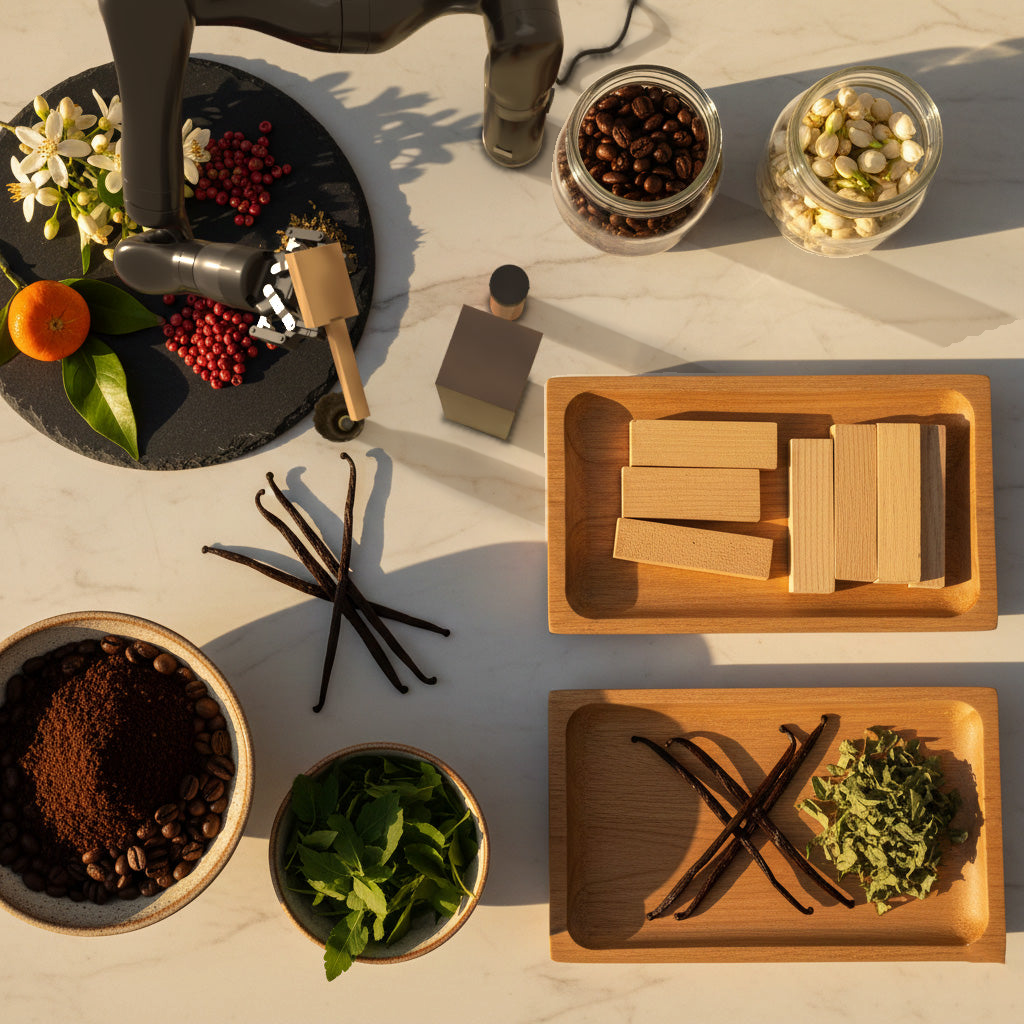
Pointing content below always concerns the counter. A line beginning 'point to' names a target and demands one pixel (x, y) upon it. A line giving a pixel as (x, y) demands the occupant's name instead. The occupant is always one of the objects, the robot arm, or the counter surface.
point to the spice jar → (506, 310)
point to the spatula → (330, 313)
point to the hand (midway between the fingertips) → (339, 298)
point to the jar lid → (509, 285)
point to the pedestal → (486, 370)
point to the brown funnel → (335, 419)
